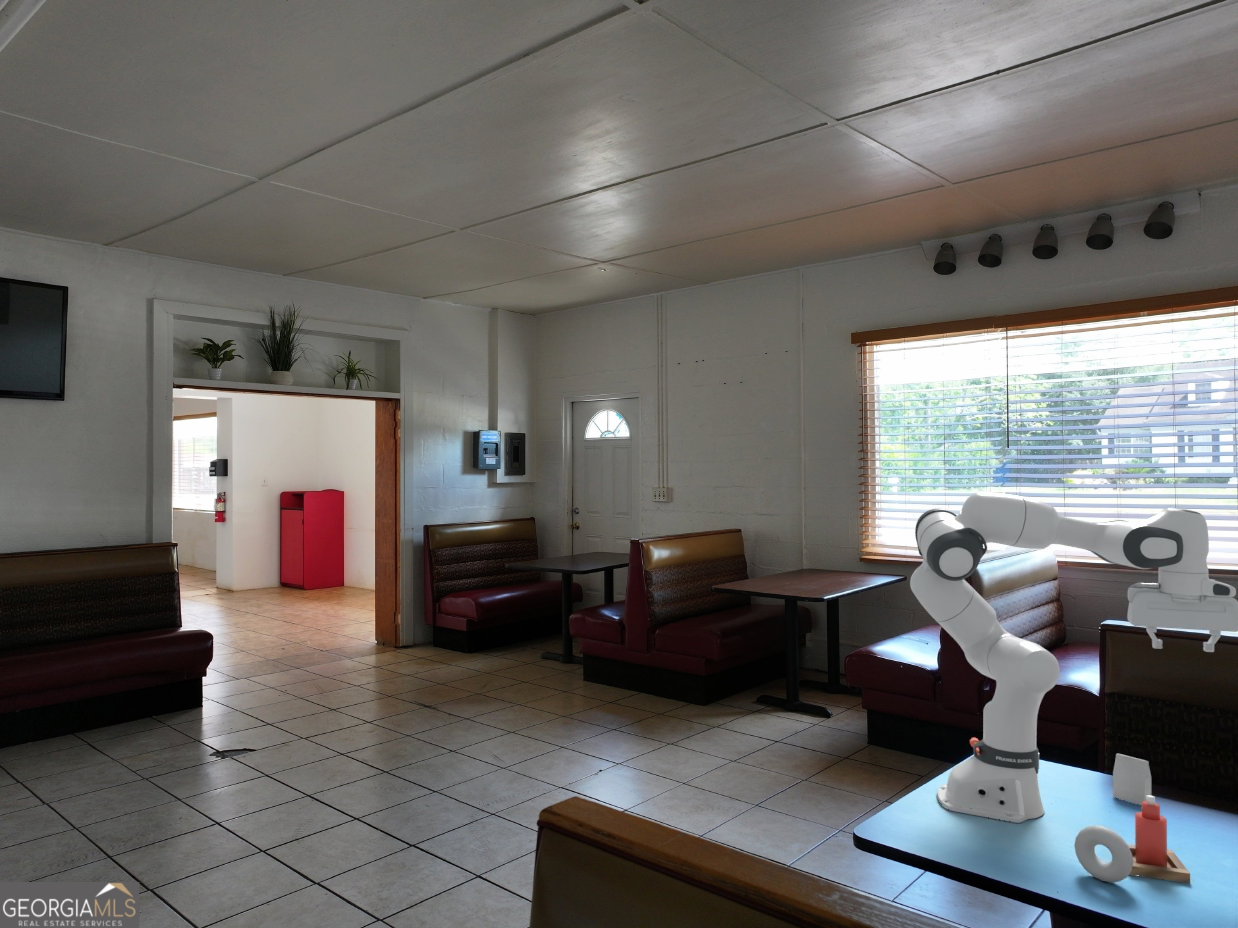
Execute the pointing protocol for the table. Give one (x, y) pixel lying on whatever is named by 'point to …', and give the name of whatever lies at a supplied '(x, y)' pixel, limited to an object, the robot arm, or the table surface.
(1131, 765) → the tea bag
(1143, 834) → the ketchup bottle
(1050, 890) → the table surface
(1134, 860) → the condiment tray
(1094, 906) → the table surface
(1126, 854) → the donut
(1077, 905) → the table surface
